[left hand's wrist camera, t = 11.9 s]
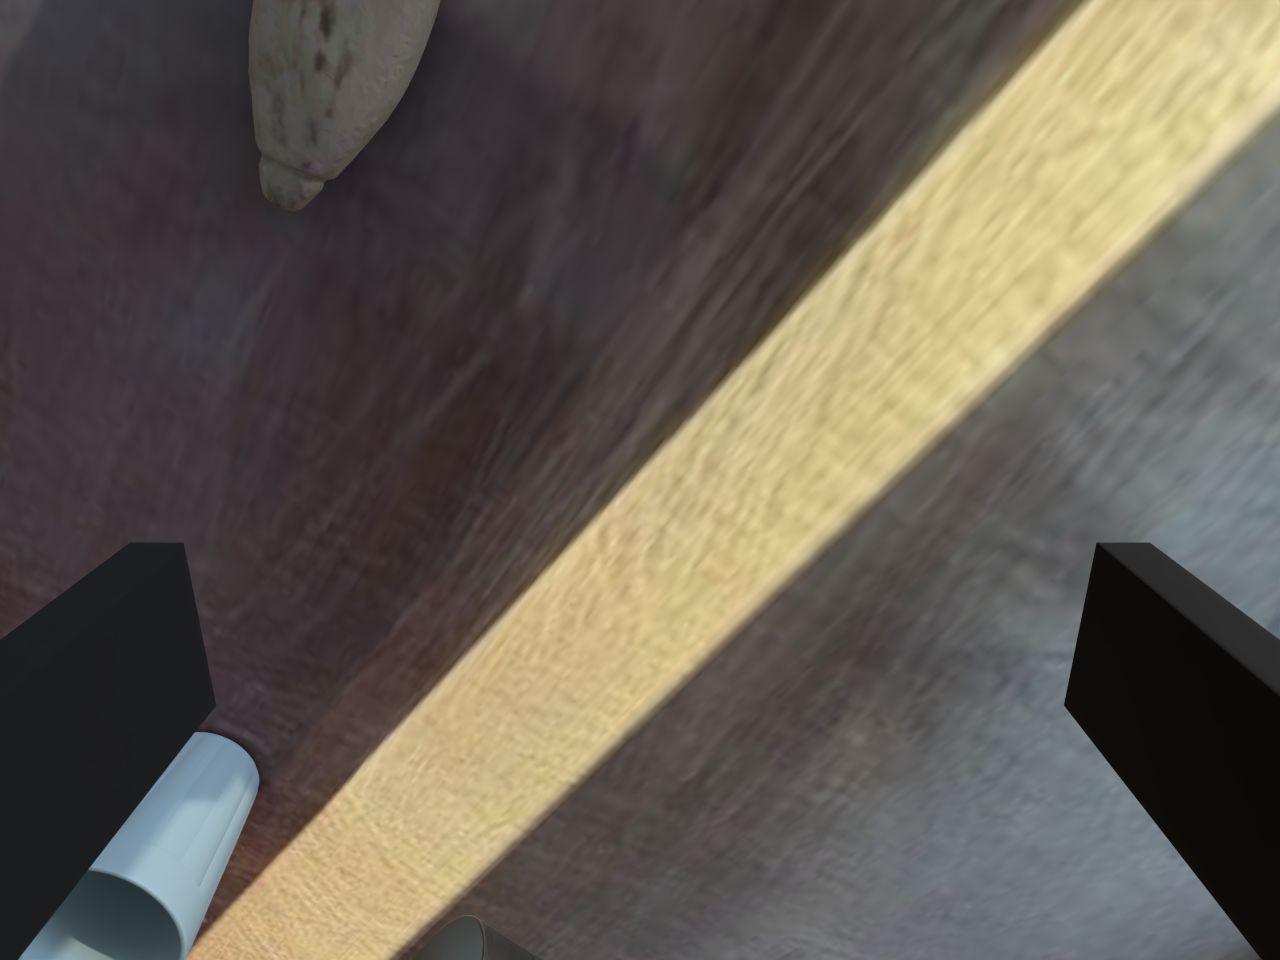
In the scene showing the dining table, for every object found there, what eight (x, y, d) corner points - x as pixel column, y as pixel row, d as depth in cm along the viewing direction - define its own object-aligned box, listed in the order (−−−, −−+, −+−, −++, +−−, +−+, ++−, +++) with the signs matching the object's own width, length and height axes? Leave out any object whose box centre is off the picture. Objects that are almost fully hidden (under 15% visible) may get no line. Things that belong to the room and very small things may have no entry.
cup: (121, 711, 45) (-22, 866, 35) (269, 712, 45) (167, 866, 35) (149, 828, 48) (23, 1002, 38) (289, 828, 48) (199, 1002, 38)
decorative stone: (227, 175, 36) (186, 177, 33) (343, -241, 31) (309, -287, 28) (367, 239, 37) (341, 247, 34) (503, -155, 32) (487, -190, 29)
